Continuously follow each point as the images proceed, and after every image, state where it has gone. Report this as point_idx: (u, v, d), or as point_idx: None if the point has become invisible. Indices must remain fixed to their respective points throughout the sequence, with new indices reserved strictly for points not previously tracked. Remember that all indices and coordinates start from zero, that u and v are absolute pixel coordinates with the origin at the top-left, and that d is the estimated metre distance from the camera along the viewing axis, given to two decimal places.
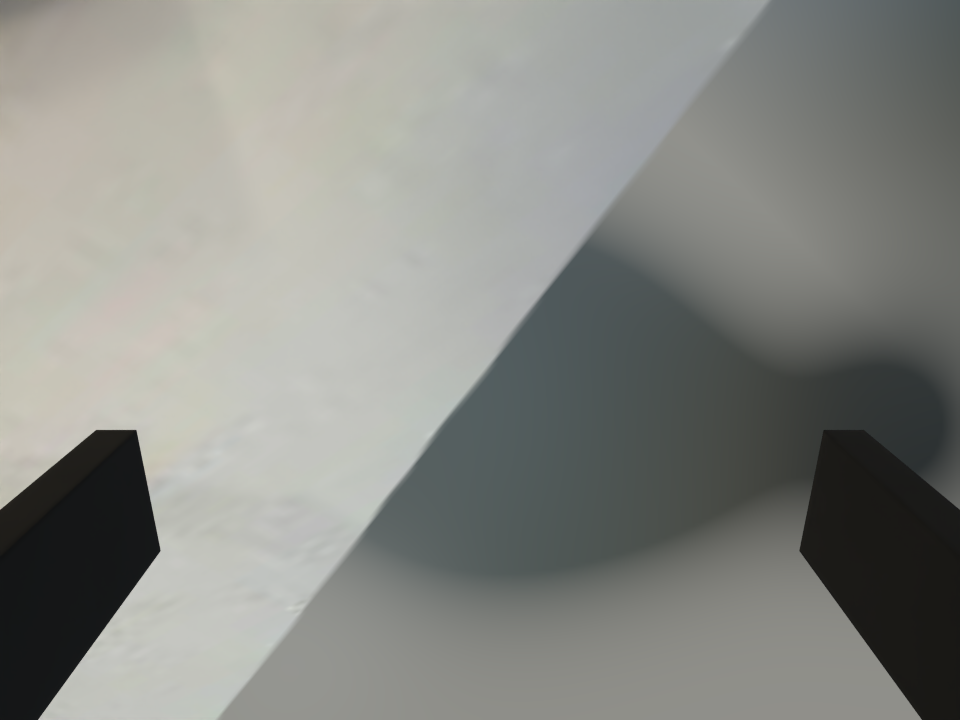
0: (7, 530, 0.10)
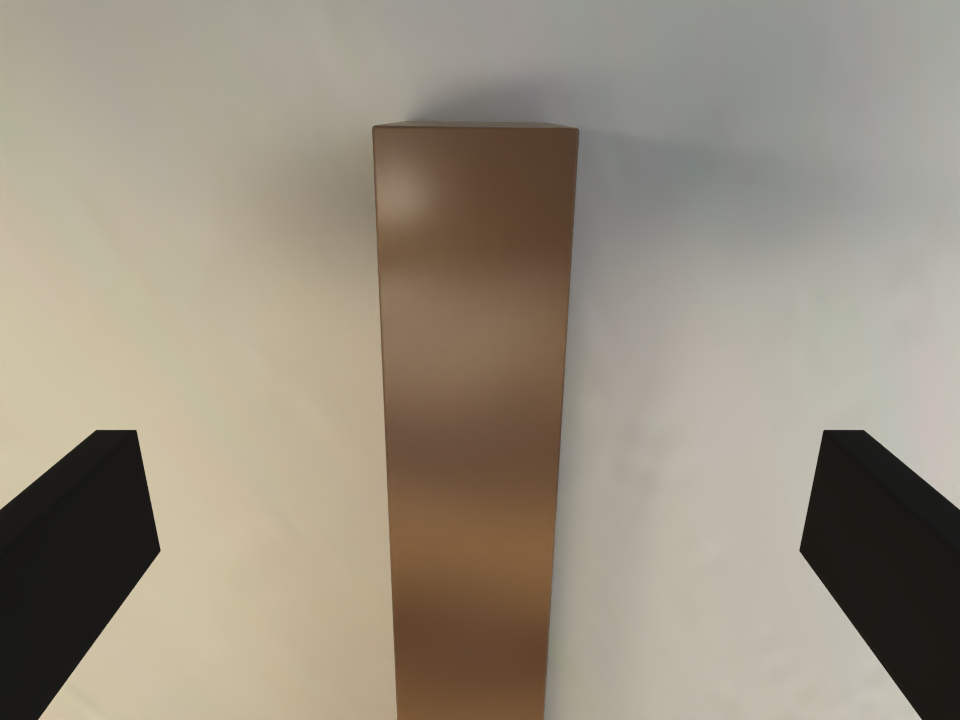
0: (7, 530, 0.10)
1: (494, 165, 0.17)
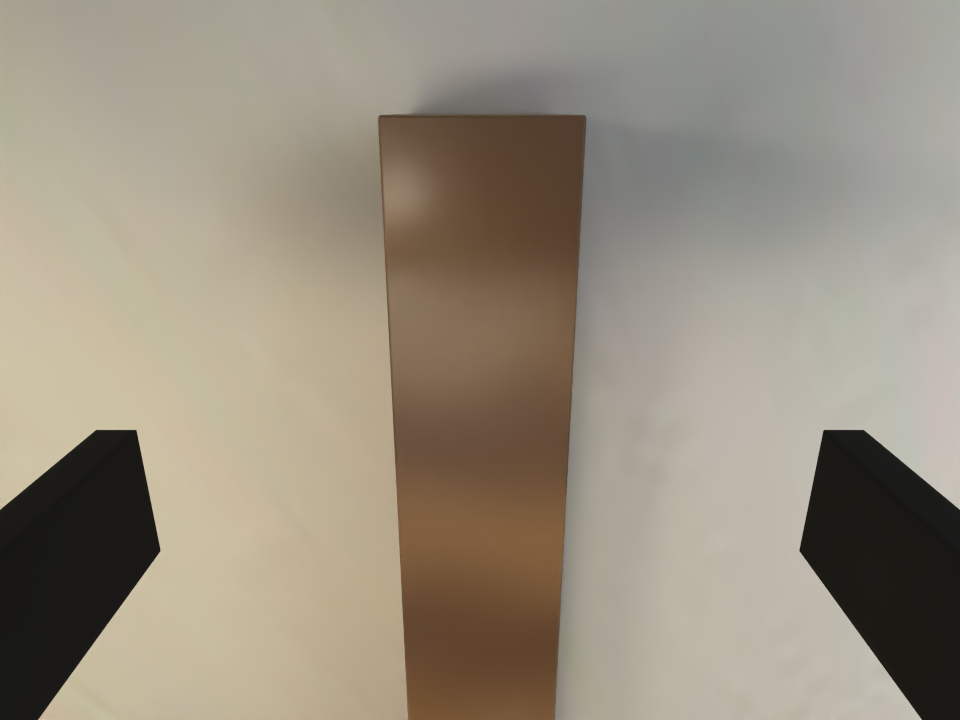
0: (7, 530, 0.10)
1: (501, 153, 0.17)
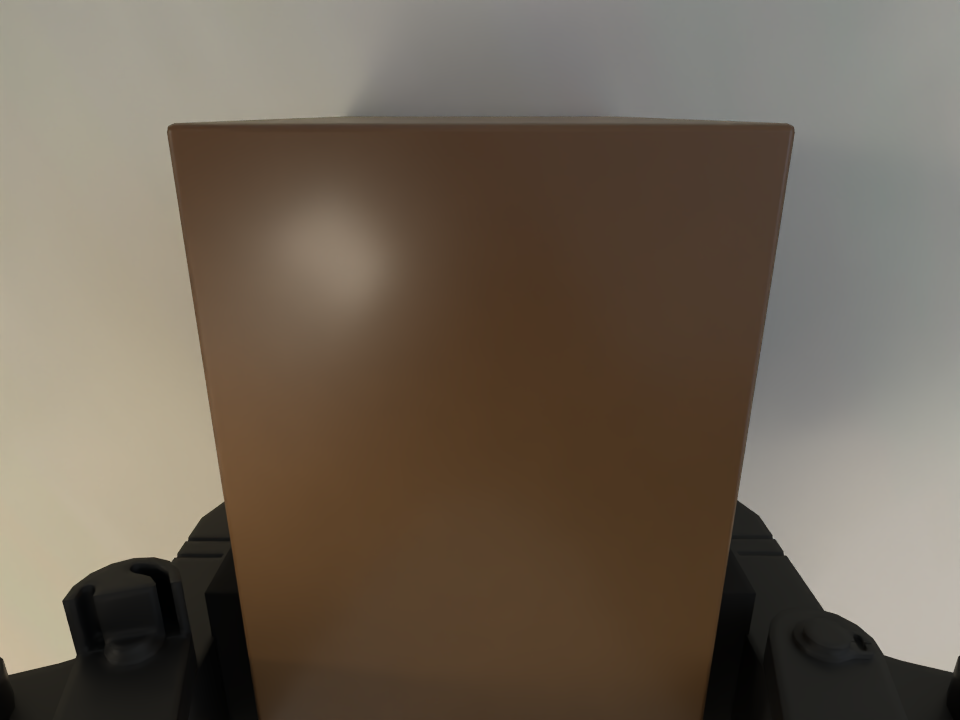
0: None
1: (537, 234, 0.06)
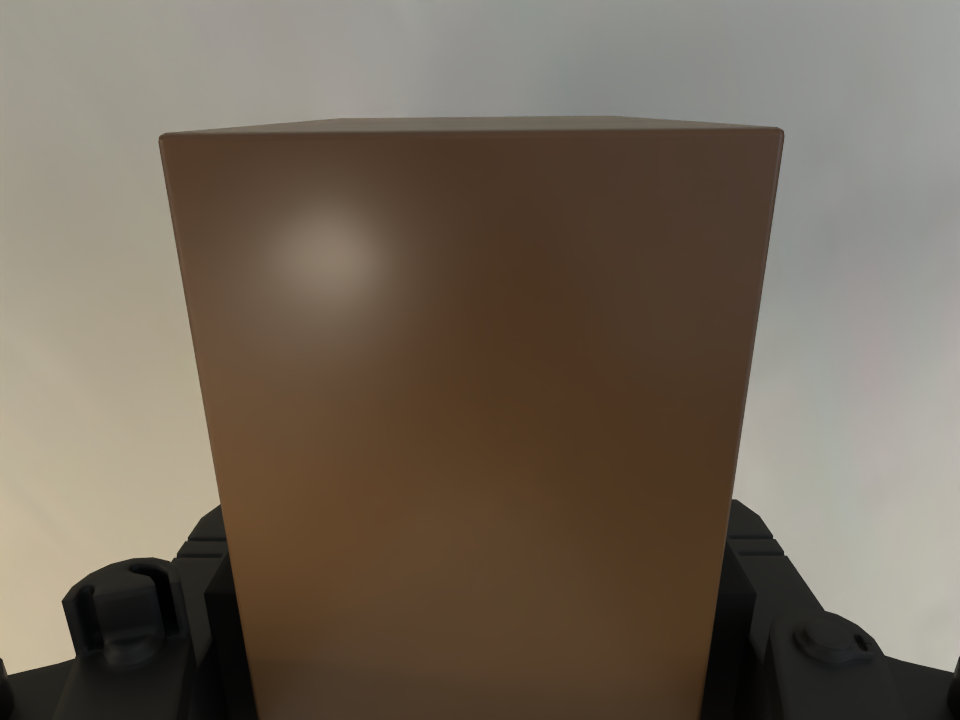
0: None
1: (529, 240, 0.06)
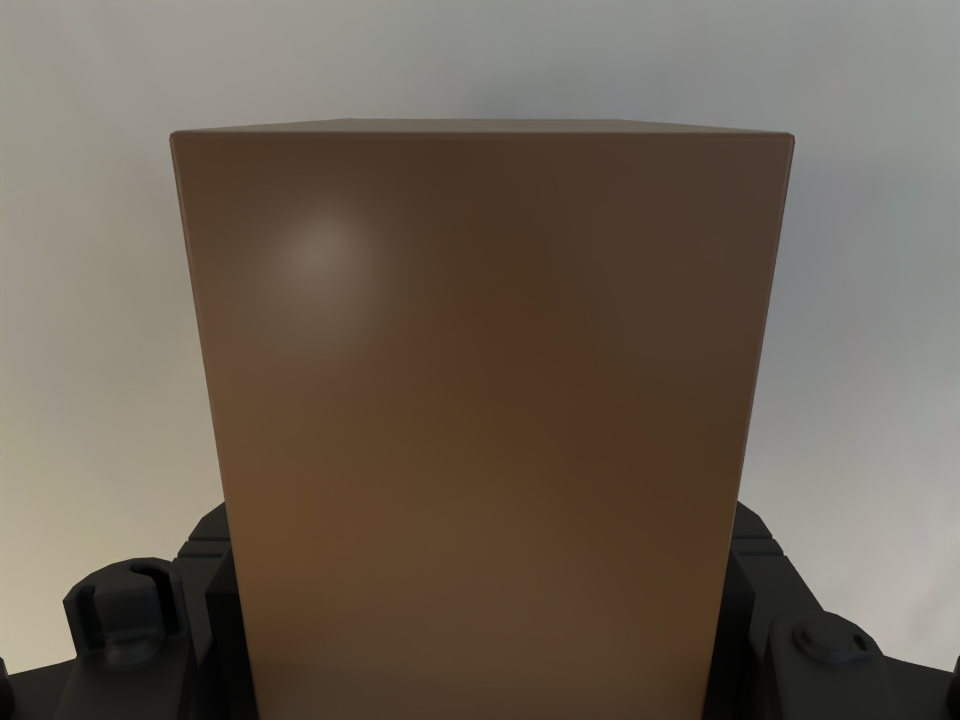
0: None
1: (538, 242, 0.06)
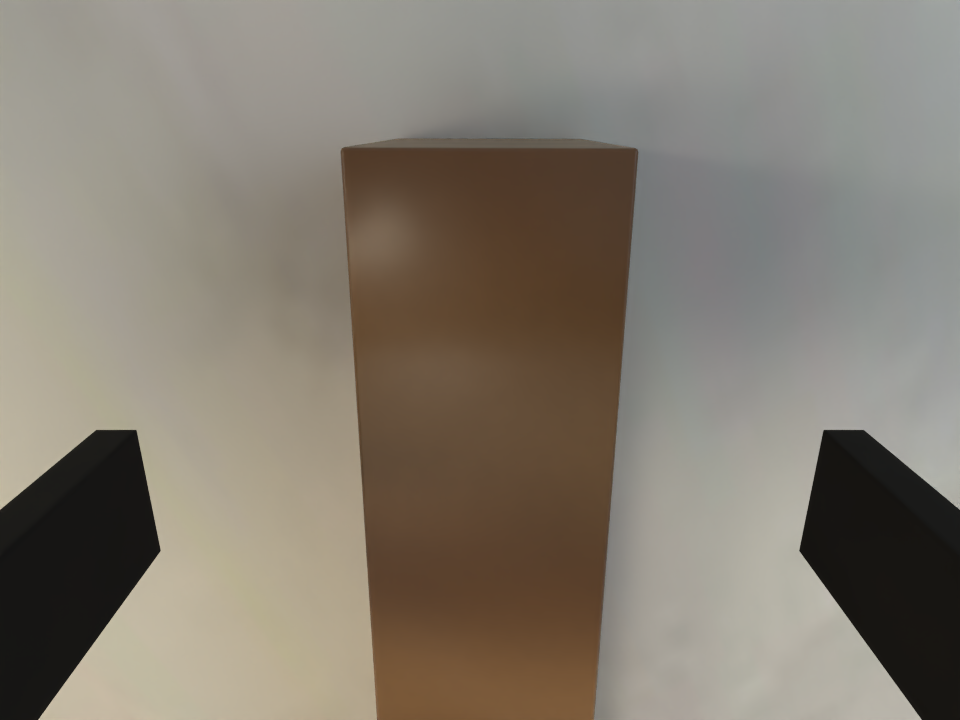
0: (7, 530, 0.10)
1: (516, 201, 0.12)
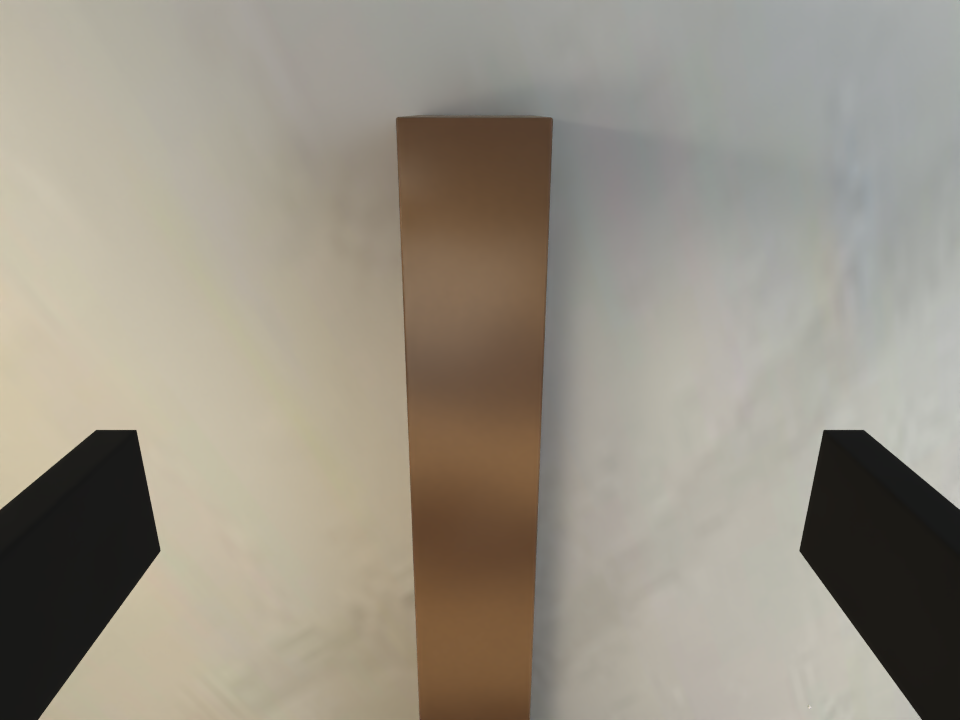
0: (7, 530, 0.10)
1: (489, 146, 0.23)
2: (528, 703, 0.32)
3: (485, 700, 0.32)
